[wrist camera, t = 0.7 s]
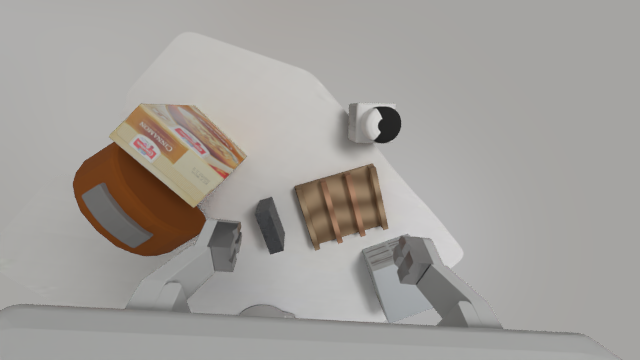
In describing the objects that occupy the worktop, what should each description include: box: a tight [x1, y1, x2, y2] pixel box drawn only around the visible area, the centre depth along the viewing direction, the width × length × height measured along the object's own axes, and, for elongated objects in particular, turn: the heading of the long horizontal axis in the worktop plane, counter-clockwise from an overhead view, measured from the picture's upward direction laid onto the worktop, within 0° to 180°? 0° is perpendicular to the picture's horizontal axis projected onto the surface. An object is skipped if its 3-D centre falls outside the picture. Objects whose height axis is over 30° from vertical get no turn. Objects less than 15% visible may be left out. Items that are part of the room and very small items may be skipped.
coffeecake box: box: [109, 104, 247, 208], centre depth 45 cm, size 15×7×20 cm, turn 42°
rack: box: [295, 164, 388, 250], centre depth 60 cm, size 16×19×4 cm
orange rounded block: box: [73, 142, 206, 256], centre depth 48 cm, size 23×9×17 cm, turn 31°
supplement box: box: [362, 234, 434, 323], centre depth 64 cm, size 17×13×9 cm
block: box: [255, 197, 285, 254], centre depth 57 cm, size 10×3×8 cm, turn 15°
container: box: [348, 103, 401, 143], centre depth 50 cm, size 8×8×13 cm
